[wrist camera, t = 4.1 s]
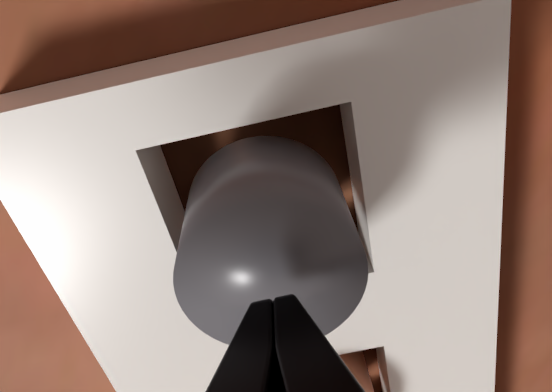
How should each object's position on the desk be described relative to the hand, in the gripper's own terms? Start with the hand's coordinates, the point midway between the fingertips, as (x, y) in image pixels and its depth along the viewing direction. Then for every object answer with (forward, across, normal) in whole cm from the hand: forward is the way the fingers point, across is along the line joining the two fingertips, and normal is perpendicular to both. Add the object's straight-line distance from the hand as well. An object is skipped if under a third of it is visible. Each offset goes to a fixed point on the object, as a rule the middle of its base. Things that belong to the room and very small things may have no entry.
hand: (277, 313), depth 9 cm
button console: (+5, 0, +8) cm, 10 cm away
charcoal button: (+4, 0, 0) cm, 4 cm away
